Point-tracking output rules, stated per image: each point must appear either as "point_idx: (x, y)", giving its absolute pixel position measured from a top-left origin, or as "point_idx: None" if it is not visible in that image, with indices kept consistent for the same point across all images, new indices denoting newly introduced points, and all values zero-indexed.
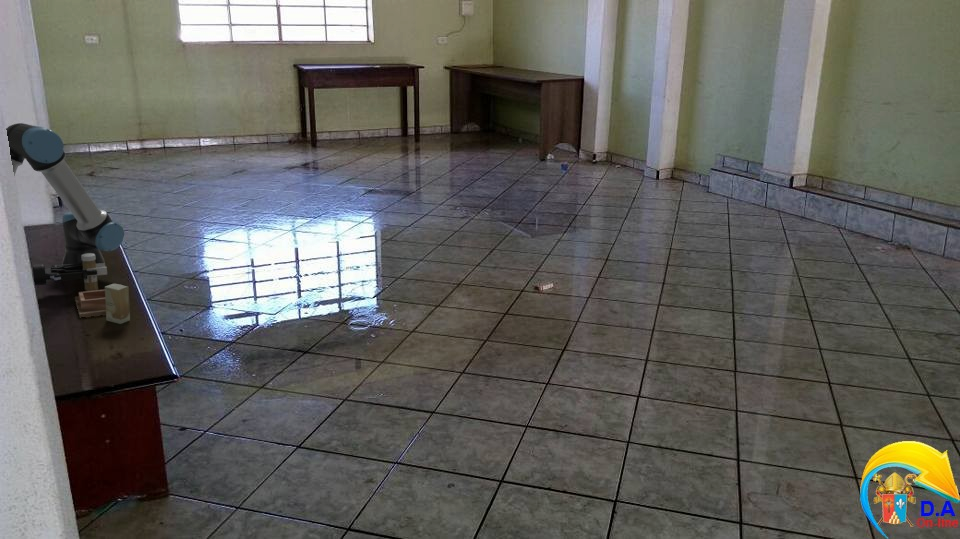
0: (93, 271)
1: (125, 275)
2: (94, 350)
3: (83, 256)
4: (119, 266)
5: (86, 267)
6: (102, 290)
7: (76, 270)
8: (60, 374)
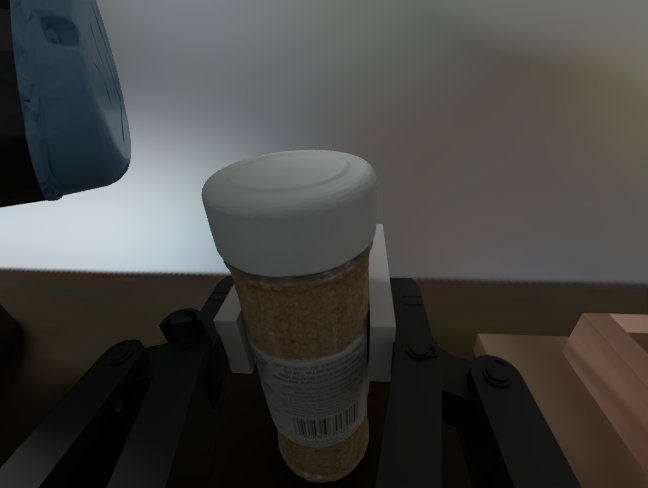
0: (421, 300)
1: (186, 273)
2: None
3: (336, 197)
4: (65, 275)
5: (357, 317)
6: (639, 353)
7: (410, 454)
8: None
